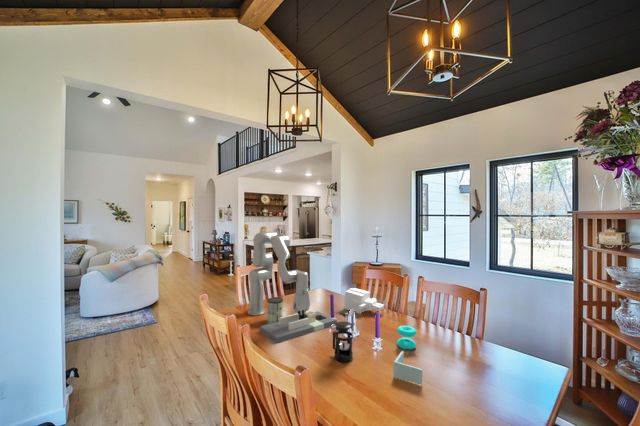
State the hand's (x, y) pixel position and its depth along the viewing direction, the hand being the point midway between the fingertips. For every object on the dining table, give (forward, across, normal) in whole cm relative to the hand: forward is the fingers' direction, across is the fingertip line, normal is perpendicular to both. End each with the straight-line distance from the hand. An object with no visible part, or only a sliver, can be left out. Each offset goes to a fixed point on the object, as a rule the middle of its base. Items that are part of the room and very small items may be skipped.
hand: (301, 320), depth 180 cm
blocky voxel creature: (+5, -55, +3) cm, 55 cm away
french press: (+5, +5, +44) cm, 44 cm away
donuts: (+5, -32, +56) cm, 64 cm away
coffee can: (+4, +8, -20) cm, 22 cm away
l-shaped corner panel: (+6, -9, +74) cm, 74 cm away
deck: (+4, +1, 0) cm, 4 cm away
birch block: (+1, -5, 0) cm, 6 cm away
